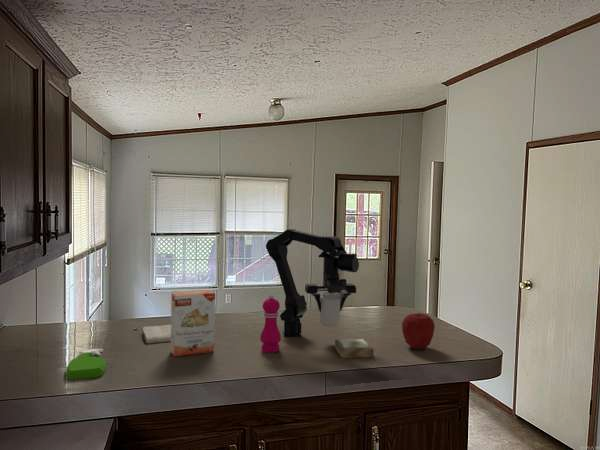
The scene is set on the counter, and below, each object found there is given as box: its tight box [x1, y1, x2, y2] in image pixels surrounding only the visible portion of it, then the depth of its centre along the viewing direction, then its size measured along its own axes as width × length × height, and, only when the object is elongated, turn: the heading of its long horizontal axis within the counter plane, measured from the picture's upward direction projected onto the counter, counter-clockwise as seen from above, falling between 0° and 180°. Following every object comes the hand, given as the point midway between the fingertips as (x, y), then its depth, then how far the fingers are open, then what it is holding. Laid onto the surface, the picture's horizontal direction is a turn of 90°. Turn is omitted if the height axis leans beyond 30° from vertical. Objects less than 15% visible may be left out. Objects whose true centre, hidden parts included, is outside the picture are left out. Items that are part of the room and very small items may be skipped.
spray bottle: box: [65, 348, 107, 381], centre depth 148 cm, size 3×11×24 cm
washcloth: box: [142, 324, 171, 344], centre depth 181 cm, size 12×18×3 cm, turn 24°
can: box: [319, 291, 341, 327], centre depth 177 cm, size 8×8×12 cm
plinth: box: [334, 338, 374, 359], centre depth 165 cm, size 11×11×3 cm
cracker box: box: [170, 289, 216, 357], centre depth 161 cm, size 14×6×21 cm, turn 117°
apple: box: [401, 311, 436, 351], centre depth 172 cm, size 12×12×13 cm
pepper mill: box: [260, 293, 282, 354], centre depth 165 cm, size 7×7×20 cm
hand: (330, 311), depth 177 cm, fingers closed on can, 7 cm apart
